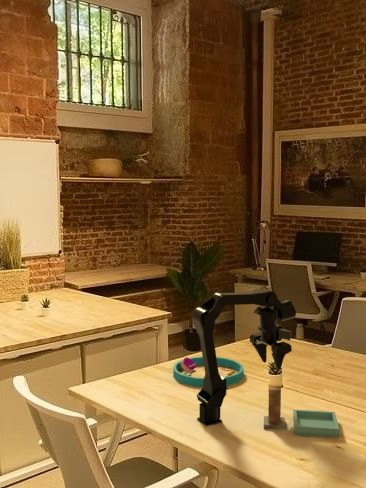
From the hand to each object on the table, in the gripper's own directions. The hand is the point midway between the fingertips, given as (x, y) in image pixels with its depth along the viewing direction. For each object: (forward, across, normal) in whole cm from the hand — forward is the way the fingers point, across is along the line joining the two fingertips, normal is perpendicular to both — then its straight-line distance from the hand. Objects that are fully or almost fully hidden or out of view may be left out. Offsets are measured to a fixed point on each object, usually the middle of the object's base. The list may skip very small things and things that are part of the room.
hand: (271, 365), depth 204 cm
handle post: (+15, -12, +9) cm, 21 cm away
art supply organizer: (+16, +43, +6) cm, 46 cm away
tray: (+16, -20, -3) cm, 26 cm away
